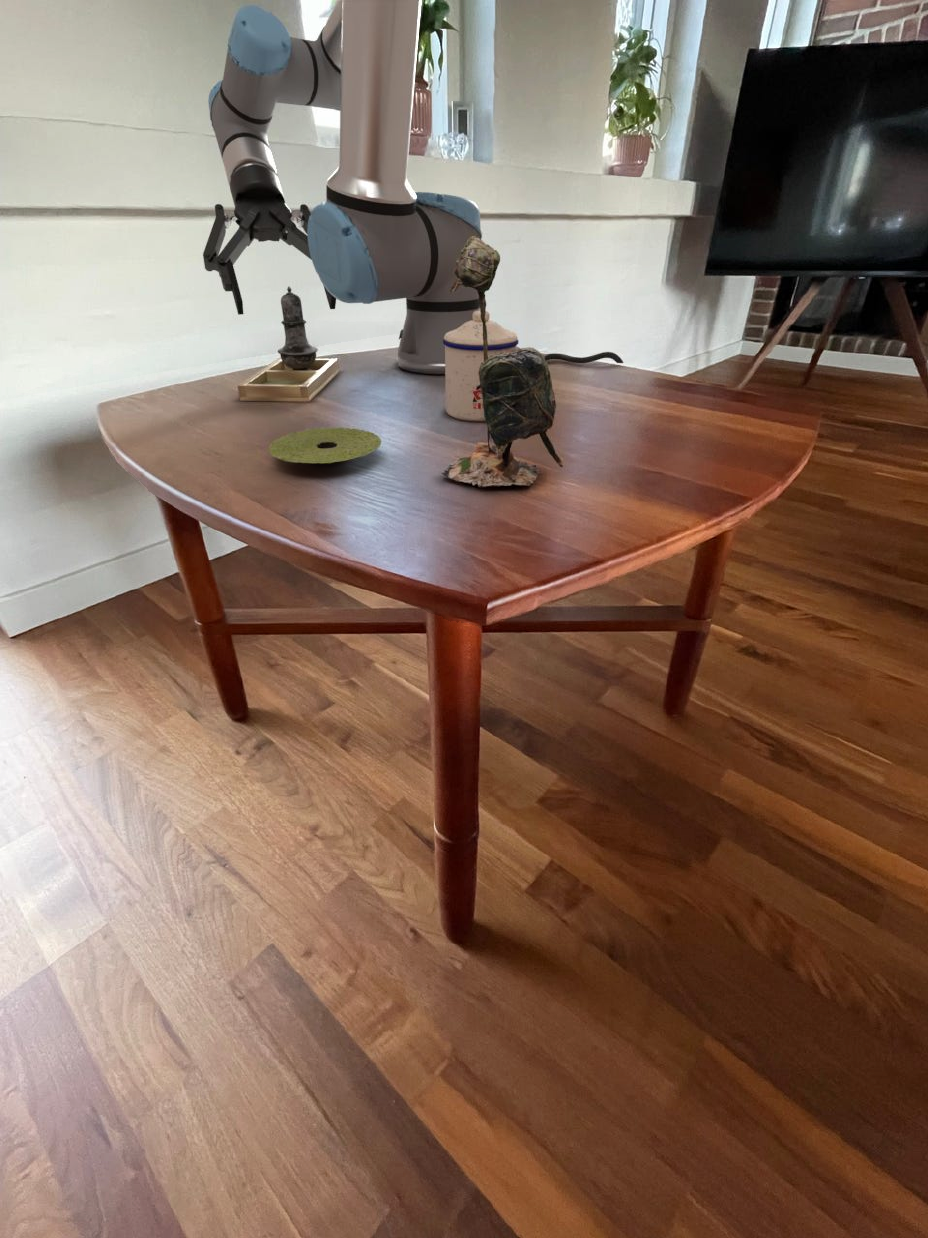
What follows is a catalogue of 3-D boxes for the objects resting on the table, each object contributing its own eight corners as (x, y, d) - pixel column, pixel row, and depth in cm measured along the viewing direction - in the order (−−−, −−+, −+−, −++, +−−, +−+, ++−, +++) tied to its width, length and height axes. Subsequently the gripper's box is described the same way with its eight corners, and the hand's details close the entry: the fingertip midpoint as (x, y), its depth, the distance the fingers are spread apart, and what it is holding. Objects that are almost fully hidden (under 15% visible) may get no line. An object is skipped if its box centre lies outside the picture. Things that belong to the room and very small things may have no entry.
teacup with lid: (477, 427, 73) (478, 319, 67) (429, 411, 79) (426, 310, 72) (545, 409, 80) (552, 309, 73) (496, 395, 85) (499, 302, 79)
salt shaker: (307, 368, 97) (295, 283, 91) (328, 375, 94) (318, 286, 87) (274, 374, 94) (259, 286, 87) (294, 381, 90) (281, 289, 84)
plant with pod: (531, 507, 54) (549, 239, 43) (429, 479, 59) (422, 235, 48) (574, 479, 59) (599, 235, 48) (477, 456, 65) (479, 232, 54)
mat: (304, 491, 57) (301, 470, 56) (253, 459, 64) (250, 440, 63) (404, 463, 63) (402, 445, 62) (347, 437, 70) (345, 420, 69)
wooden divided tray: (339, 371, 98) (337, 358, 97) (309, 401, 83) (307, 386, 82) (280, 371, 98) (278, 357, 97) (240, 400, 83) (237, 385, 82)
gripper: (333, 204, 102) (366, 317, 98) (170, 204, 93) (201, 327, 90) (337, 163, 95) (373, 283, 91) (162, 159, 86) (195, 290, 83)
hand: (288, 305), depth 91 cm, fingers open, 13 cm apart
